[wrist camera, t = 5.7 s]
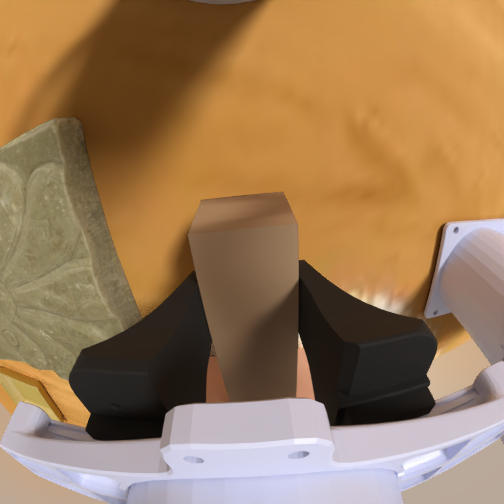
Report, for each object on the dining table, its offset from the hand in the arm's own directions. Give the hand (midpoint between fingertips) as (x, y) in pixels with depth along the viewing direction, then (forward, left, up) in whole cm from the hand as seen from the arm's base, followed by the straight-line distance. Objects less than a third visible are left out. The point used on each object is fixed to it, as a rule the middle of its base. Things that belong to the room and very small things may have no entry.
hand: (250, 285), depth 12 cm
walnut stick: (0, +2, -2) cm, 3 cm away
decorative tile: (+18, +1, -5) cm, 19 cm away
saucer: (+29, +17, -5) cm, 34 cm away
